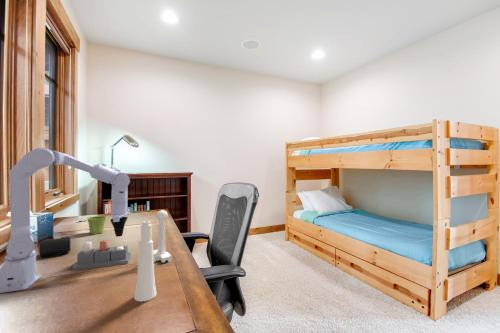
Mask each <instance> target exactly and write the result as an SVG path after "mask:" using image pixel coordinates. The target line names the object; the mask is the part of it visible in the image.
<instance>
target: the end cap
mask: <svg viewBox="0 0 500 333" xmlns="http://www.w3.org/2000/svg"><path fill="white" fill-rule="evenodd" d="M38 250H39V251H38V252H39V253H38V254H39V256H40V257H41V258H45V257H51V256H57V255H62V254H68V253H70V252H71V237H70V236H64V237H63V236H62V237H60V238H54V239H53V238H48V239H47V238H46V239H43V240H41V241H40V242H39V248H38Z"/></svg>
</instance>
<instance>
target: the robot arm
mask: <svg viewBox="0 0 500 333" xmlns="http://www.w3.org/2000/svg"><path fill="white" fill-rule="evenodd" d="M51 165H55V166H57V165H62V166H63V165H65V166H67V167H72V168H74V169H77V170H80V171H83V172H86V173H89V176H90V177H91V178H92V179H95V180H96V181H101V182H103V183H106V184H111V198H110V200H111V201H110V202H111V203H110V205H111V206H110V207H111V210H110V211H111V212H110V217H112V218H111V219H110V223H111V224H112V225H111V226H112V227H113V230H114V234H115V237H116V238H117V237H122V236H123V233H124V230H125V229H124V228H125V225H126V222H127V220H128V216H129V215H131V214H132V213H131V211H130V212H128V194H129V193H128V192H129V191H128V186H129V185H130V182H131V179H130V177H129V175H128V174H127V173H125V172H120V171H119V169H114V168H111V167H108V166H107V164H105V163H96V164H91V163H90V162H89V163H88V162H86V161H84V160H82V159H79V158H77V157H74V156H72V155H69V154H67V153H64V152H60V151H57V150H51V149H49V148H47V147H37V148H34V149H32V150H30V151H28V152H26V153H25V154H24V155H23V156H22V157H21V158H20V160H18V162H17V163H15V165H14V166H13V167H12V168H11V169H10V171H9V195H10V196H9V198H10V199H9V200H10V201H9V202H10V206H9V208H10V209H9V210H10V238H9V239H8V241H7V247H6V250H5V252H6V255H5V256H4V263H3V264H2V266H1V267H0V294H2V293H8V292H17V291H24V290H28V289H30V287H31V286H33V284H35V283H36V282H37V281H38V280H39V279H40V278H41V277H42V274H38V275H37V273H36V272H37V251H36V250H35V248H36V247H35V237H34V235H33V233H31V213H30V212H31V211H30V210H31V208H30V206H31V203H30V197H31V196H30V177H31V176H33V175H34V174H35V173H37V172H38V171H39V170H41V169H45V168H46V167H49V166H51Z"/></svg>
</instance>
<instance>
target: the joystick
mask: <svg viewBox="0 0 500 333" xmlns="http://www.w3.org/2000/svg"><path fill="white" fill-rule="evenodd" d="M155 215H156V216H155V218H156V220H157V221H158V236H157V239H158V240H157V248H156V249H153V256H154V263H157V262H158V261H161V263H164V264H165V263H166V261H167V263H170V262H171V261H172V254H170V253H169V252H168V251H166V229H165V226H166V225H165V222H166V220H167V219H168V216H169V215H168V212H167V211H166V210H164V209H162V210H159V211H157V213H156V214H155ZM156 261H157V262H156Z"/></svg>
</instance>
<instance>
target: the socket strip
mask: <svg viewBox="0 0 500 333" xmlns="http://www.w3.org/2000/svg"><path fill="white" fill-rule="evenodd" d="M120 246H121V245H120ZM120 246H119V245H117V246H110V247H109V246H108V251H101V252H100V247H98V248H92V252H90V253H83V249H81V250H80V251H79V252H78V253H77V256H76V258H77V259H76V262H75V263H74V264H73V266H72V271H76V270H77V271H78V270H85V269H93V268H101V267H110V266H111V267H112V266H117V265H118V266H121V265H127V264H129V261H130V258H131V254H132V253H131V252H128V250H129V248H128V247H129V245H122V246H123V247H124V249H121V250H116V247H120Z"/></svg>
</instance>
